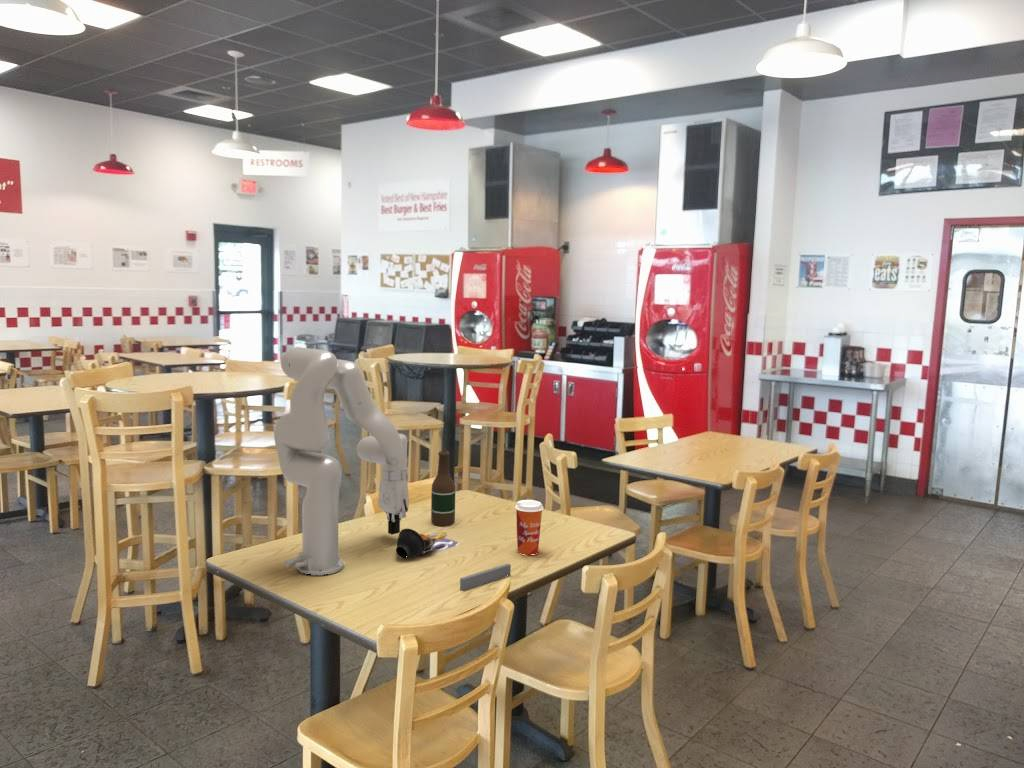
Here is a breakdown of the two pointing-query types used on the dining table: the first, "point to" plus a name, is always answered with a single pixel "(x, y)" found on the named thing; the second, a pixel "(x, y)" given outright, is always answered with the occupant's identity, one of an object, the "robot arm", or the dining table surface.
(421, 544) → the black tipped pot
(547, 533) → the dining table surface
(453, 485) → the beer bottle
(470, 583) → the rail
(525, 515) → the coffee cup
